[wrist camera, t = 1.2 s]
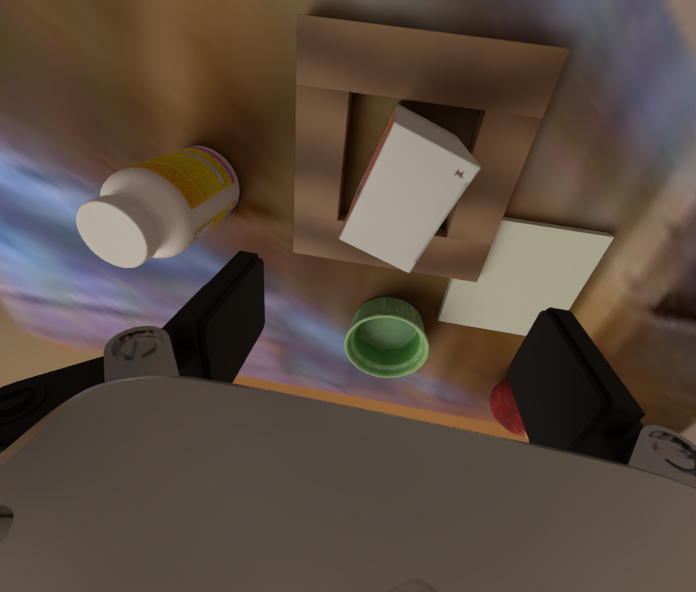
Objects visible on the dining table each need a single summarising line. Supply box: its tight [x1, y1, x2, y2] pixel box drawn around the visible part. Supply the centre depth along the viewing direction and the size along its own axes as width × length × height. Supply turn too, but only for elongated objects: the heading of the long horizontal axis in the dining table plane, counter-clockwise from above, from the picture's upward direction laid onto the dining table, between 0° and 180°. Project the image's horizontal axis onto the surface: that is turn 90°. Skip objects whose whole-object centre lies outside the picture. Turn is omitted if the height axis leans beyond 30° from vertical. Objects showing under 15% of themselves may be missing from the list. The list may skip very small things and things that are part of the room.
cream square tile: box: [438, 217, 614, 336], centre depth 32 cm, size 12×12×1 cm
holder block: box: [293, 14, 570, 282], centre depth 27 cm, size 18×18×2 cm
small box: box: [339, 104, 481, 273], centre depth 24 cm, size 8×6×10 cm
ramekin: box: [344, 297, 429, 378], centre depth 37 cm, size 9×9×4 cm
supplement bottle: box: [76, 146, 240, 268], centre depth 26 cm, size 7×7×13 cm
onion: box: [489, 379, 529, 440], centre depth 37 cm, size 6×6×8 cm
